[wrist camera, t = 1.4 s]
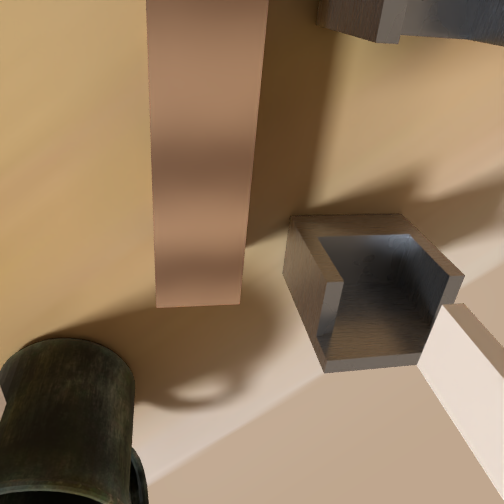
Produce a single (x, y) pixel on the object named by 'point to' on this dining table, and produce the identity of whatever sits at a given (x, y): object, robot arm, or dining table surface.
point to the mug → (68, 427)
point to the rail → (202, 143)
